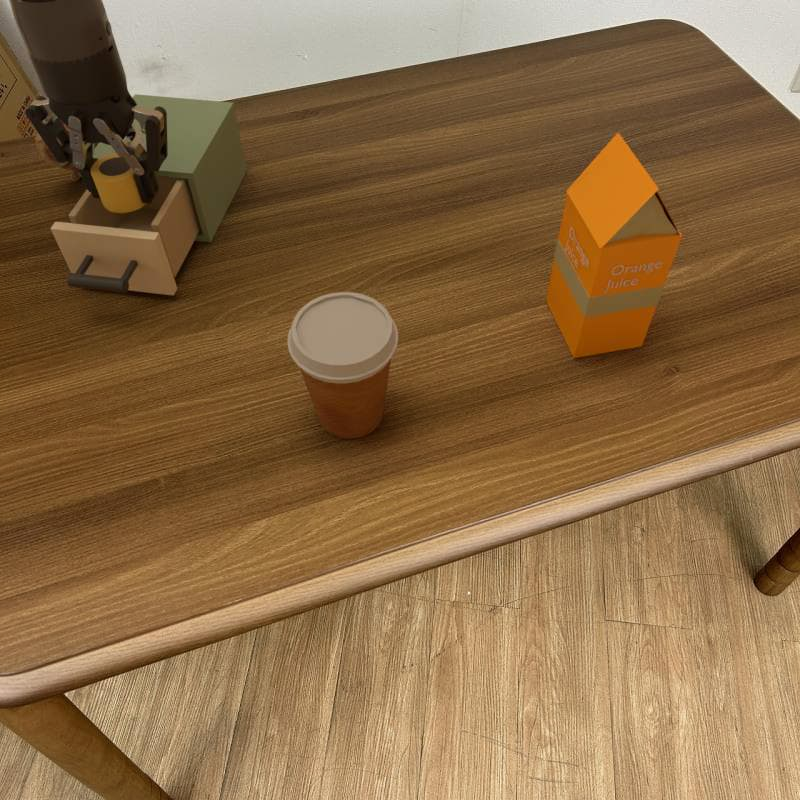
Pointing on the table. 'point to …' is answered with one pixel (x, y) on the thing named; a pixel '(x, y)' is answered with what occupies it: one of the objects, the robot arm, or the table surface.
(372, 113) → the table surface
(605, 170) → the orange juice
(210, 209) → the cabinet
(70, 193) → the table surface
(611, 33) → the table surface
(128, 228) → the drawer
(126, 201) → the tape
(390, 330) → the disposable coffee cup
